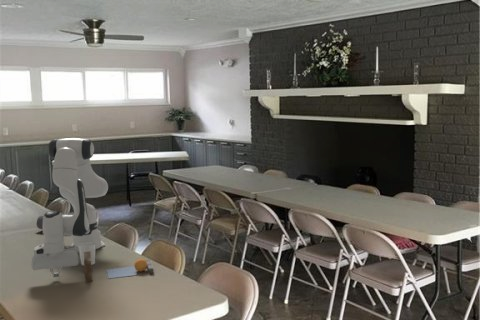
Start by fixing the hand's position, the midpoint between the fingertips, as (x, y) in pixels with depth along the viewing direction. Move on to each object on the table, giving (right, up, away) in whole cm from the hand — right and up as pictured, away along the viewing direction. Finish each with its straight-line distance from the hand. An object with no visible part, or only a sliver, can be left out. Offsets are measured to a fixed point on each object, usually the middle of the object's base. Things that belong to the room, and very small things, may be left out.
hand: (56, 276), depth 236 cm
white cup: (+8, +1, +23) cm, 24 cm away
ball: (+37, +3, +10) cm, 38 cm away
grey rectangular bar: (+40, +1, +12) cm, 42 cm away
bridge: (+13, -1, +4) cm, 14 cm away
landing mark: (+28, 0, +8) cm, 29 cm away
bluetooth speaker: (-32, +8, +90) cm, 96 cm away
